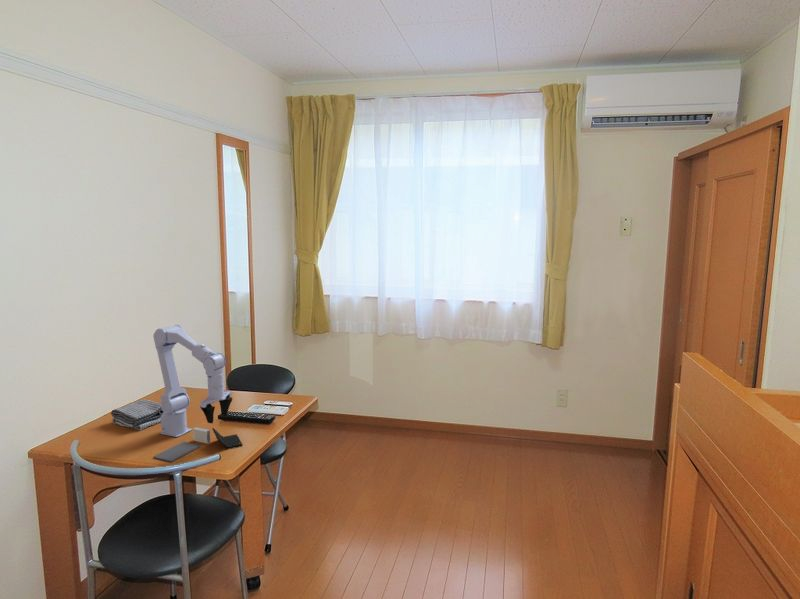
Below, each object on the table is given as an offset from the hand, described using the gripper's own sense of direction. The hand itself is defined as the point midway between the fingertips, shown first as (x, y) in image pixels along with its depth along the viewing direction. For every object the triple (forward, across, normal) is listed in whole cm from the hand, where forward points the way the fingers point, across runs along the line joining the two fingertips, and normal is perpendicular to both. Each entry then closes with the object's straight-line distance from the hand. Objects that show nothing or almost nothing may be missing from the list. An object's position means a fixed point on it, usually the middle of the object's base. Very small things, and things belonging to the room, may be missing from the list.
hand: (217, 419), depth 196 cm
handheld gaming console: (+10, +1, -4) cm, 11 cm away
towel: (+11, +3, +46) cm, 48 cm away
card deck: (+10, -2, +7) cm, 12 cm away
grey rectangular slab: (+10, -12, +8) cm, 18 cm away
